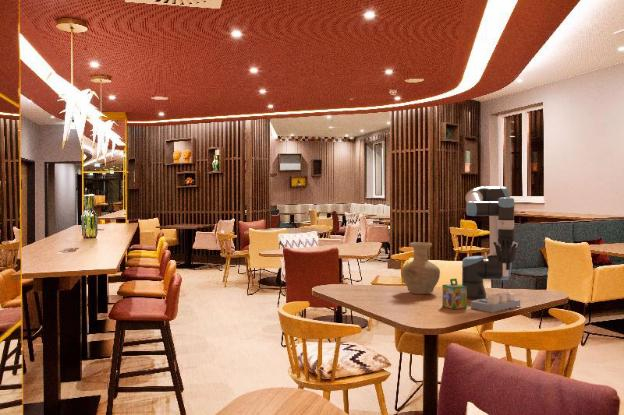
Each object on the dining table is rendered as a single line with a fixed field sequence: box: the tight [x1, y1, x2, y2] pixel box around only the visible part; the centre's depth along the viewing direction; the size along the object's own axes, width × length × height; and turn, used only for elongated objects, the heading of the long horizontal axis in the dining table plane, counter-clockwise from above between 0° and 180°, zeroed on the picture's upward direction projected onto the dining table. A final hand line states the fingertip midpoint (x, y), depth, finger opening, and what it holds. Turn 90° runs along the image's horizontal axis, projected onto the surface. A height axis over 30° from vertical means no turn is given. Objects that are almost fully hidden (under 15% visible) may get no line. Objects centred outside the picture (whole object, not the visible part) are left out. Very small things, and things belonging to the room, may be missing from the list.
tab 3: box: [503, 290, 516, 301], centre depth 277 cm, size 4×4×6 cm
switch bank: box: [470, 297, 521, 313], centre depth 276 cm, size 24×13×4 cm, turn 126°
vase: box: [401, 241, 441, 295], centre depth 315 cm, size 22×22×30 cm
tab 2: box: [495, 292, 507, 303], centre depth 273 cm, size 4×4×6 cm
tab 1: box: [487, 294, 499, 305], centre depth 269 cm, size 4×4×6 cm
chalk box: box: [441, 278, 468, 310], centre depth 276 cm, size 9×9×15 cm
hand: (505, 276), depth 263 cm, fingers closed
